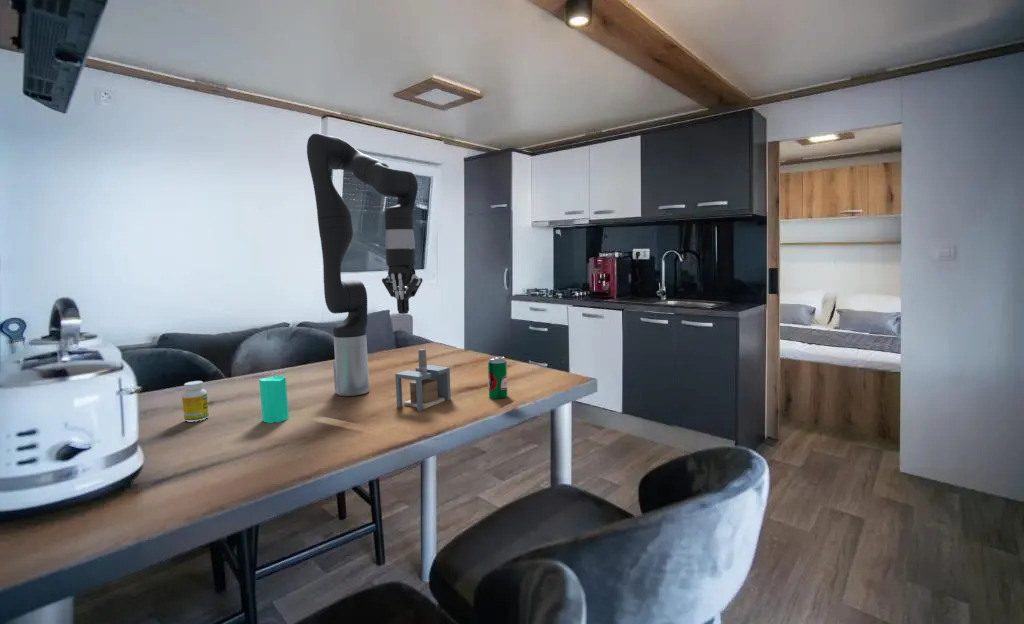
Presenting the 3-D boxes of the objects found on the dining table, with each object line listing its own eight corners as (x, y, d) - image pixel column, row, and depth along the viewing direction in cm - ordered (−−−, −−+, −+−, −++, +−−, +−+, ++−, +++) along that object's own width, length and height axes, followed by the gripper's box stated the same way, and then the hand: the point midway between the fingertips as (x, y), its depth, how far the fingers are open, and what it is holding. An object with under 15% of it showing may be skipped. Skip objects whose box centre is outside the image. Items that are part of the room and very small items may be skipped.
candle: (263, 424, 124) (259, 376, 123) (262, 418, 129) (258, 371, 128) (289, 420, 127) (286, 372, 125) (288, 414, 132) (284, 368, 131)
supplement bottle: (185, 418, 130) (182, 381, 129) (210, 415, 133) (206, 379, 132) (183, 424, 125) (179, 386, 124) (208, 421, 128) (204, 383, 127)
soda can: (505, 404, 136) (504, 360, 134) (487, 403, 137) (485, 359, 135) (509, 399, 141) (508, 356, 139) (491, 398, 142) (490, 356, 140)
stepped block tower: (403, 405, 133) (401, 351, 131) (424, 397, 139) (422, 346, 138) (424, 408, 129) (421, 353, 128) (444, 400, 136) (442, 348, 134)
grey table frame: (364, 407, 137) (362, 370, 135) (402, 394, 148) (400, 360, 147) (442, 422, 122) (440, 381, 121) (477, 407, 134) (475, 369, 133)
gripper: (371, 248, 134) (375, 314, 135) (408, 246, 127) (412, 316, 128) (392, 248, 140) (395, 311, 142) (429, 246, 133) (431, 312, 135)
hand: (403, 313), depth 135 cm, fingers closed
